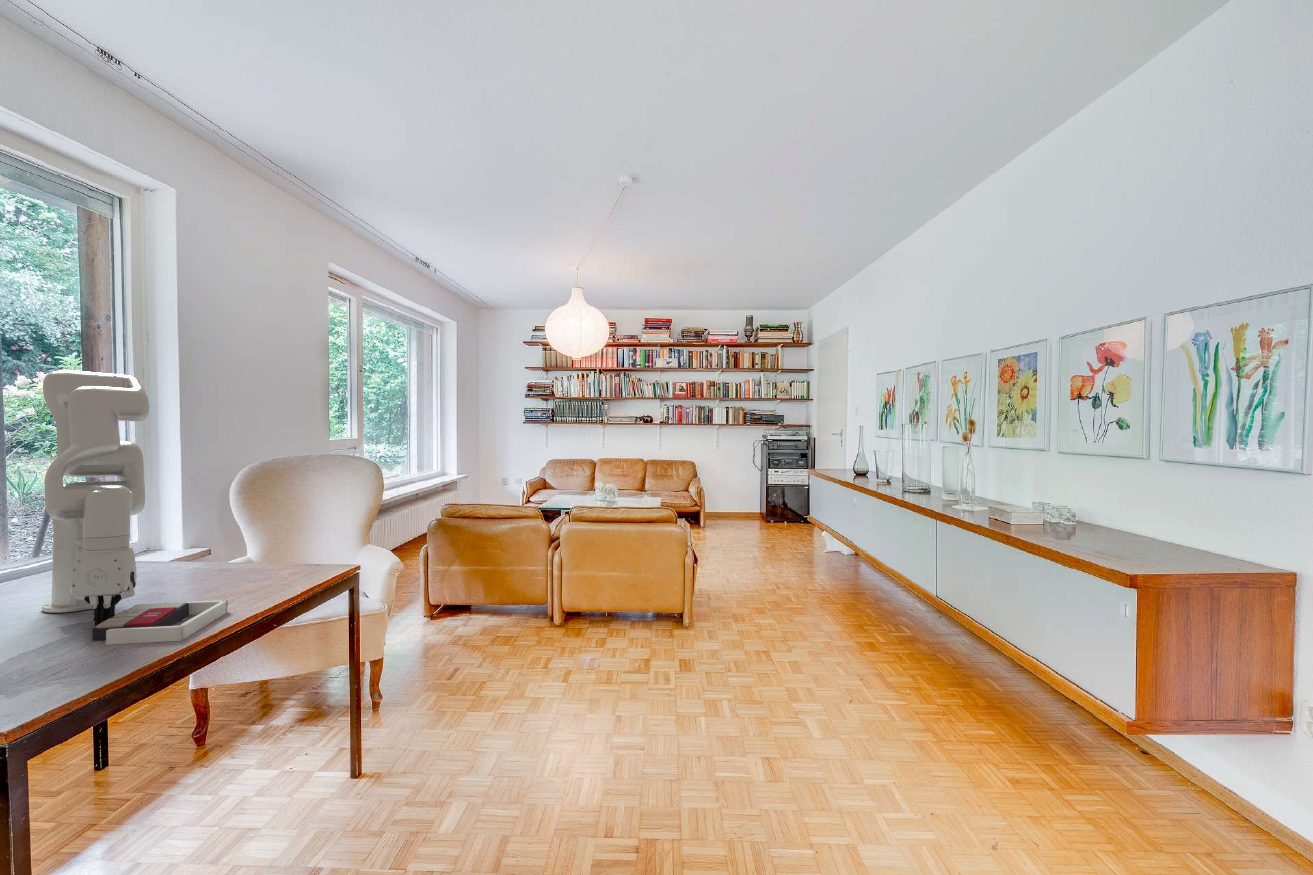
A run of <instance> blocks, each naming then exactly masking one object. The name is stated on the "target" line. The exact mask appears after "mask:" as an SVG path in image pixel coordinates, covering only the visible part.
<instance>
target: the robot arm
mask: <svg viewBox="0 0 1313 875" xmlns="http://www.w3.org/2000/svg"><path fill="white" fill-rule="evenodd" d="M42 393H43V397H44V400H45V401H44V402H45V404H46V406H47V408H48V410H49V411H50V414H51V416H52V417H53V420H54V423H55V427H56V458H55V459H54V460H52V462H51V463H50V465H49V466H48V468H47V470H46V473H45V476H44V502H45V504H44V505H45V511H46V513H47V515H48V516H49V517H50V518H51V519H52V529H53V531H52V533H53V535H52V536H53V540H52V541H53V543H52V571H51V573H52V576H51V600H50V601H48V602H46V603H44V604H42V606H41V611H42V612H44V613H53V614H55V613H56V614H57V613H58V614H59V613H60V614H61V613H71V612H72V613H73V612H80V611H85V610H91V609H93V622H94V627H96V626H97V625H98V624H100V623H102V622H104V621H106V620H108V619H109V618H113V616H115V615H116V614H115V613H116V605H118V603H119V602H120V601H122V600H125V599H129V598H132V597H134V596H135V595H136V593H135V588H136V586H137V562H136V556H135V552H134V550H133V547H130V537H131V533H130V532H131V516H135V515H138V514H140V513H141V512H142V511H143V510H144V508H145V504H146V486H145V466H144V465H145V464H144V462H145V461H144V454H143V451H142V449H141V447H140V446H139V444H137V443H135V442H134V441H133V442H132V441H127V440H121V436H120V426H119V422H142V421H144V420H146V419H147V417H148V415H149V412H150V402H149V397H148V395H147V392H146V391H145V389H144V387H143V386H142V385H141V383H140V381H139V380H138V378H136V377H135V376H131V375H127V374H118V373H104V372H93V371H83V370H81V371H80V370H56V371H52V372H49V373H47V374H46V375H45V376H44V378H43V382H42ZM64 476H66V477H69V478H100V477H102V478H105V477H116V478H117V479H119V480H109V481H108V480H107V481H104V480H103V481H101V480H99V481H98V480H97V481H96V480H94V481H75V482H74V481H73V482H68V483H67V482H66V483H64V480H63V479H64Z"/></svg>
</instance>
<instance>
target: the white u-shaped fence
mask: <svg viewBox="0 0 1313 875" xmlns="http://www.w3.org/2000/svg"><path fill="white" fill-rule="evenodd" d="M185 602H186V603H189V616H193V617H192V618H190V619H188V620H186V621H185V622H183V623H181V624H180V625H172V626H161V627H140V628H118V629H108V630H106V640H105V645H123V644H146V643H161V642H162V643H163V642H166V643H167V642H180V641H183V640H185V639H186V638H188V637H190V636H192V635H193V634H195V633H196V632H197V631H200V630H201V629H202V628H204V627H206V626H208V625H209V624H211V623H212V622H214V621H215V619H216V620H217V619H218V618H220V617H222V616H224V615H225V614H227V613H228V611H229V610H228V608H229V606H228V605H229V600H228V599H226V600H225V599H224V600H203V601H202V600H199V601H198V600H197V601H185ZM167 603H176V602H175V601H174V602H173V601H171V602H167ZM195 615H196V616H195Z"/></svg>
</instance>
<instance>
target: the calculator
mask: <svg viewBox="0 0 1313 875" xmlns="http://www.w3.org/2000/svg"><path fill="white" fill-rule="evenodd" d="M186 602H187V601H177V602H176V603H168V602H158V603H157V602H156V603H139V604H138V603H137V604H134V605H133V606H131V607H129V608H127V609H124V610H122V611H121V612H119V613H117V614H115V616H113V618H109V619H108V620H106V621H104V622H102V623H100V624H98V625H97V626H94V628H92V629H91V631H92V634H91V636H92V637H91V638H92V642H101V641H106V630H108V629H118V628H140V627H161V626H175V625H176V624H177V623H179V622H183V621H184V620H185V619H187V618H189V617H190V615H189V603H186ZM183 619H184V620H183Z"/></svg>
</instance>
